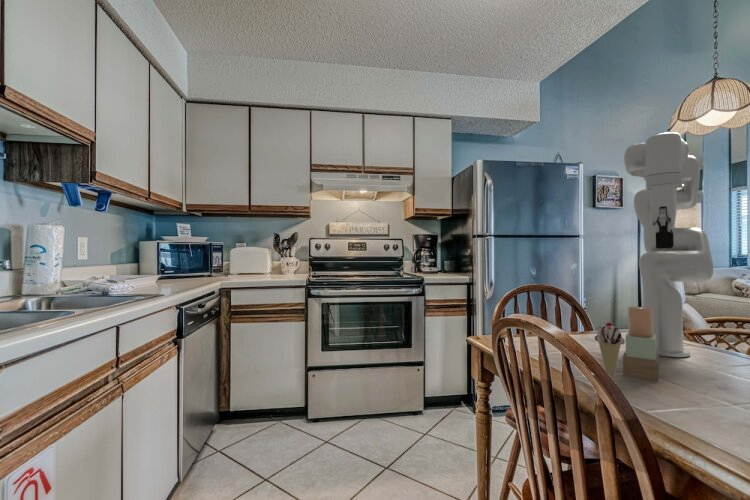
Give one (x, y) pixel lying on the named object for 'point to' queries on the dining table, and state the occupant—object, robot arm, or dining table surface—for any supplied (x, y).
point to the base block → (641, 368)
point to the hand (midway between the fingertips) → (665, 247)
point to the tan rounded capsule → (640, 322)
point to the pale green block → (641, 347)
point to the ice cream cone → (609, 346)
